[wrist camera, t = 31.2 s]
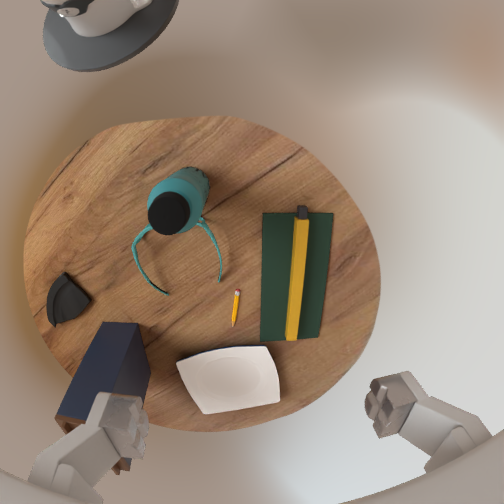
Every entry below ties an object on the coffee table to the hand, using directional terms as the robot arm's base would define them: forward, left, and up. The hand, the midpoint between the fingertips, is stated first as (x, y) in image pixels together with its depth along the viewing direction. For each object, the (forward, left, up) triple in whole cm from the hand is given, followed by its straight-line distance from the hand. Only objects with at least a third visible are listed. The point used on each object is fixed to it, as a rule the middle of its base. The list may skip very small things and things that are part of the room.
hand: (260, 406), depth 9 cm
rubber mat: (+15, +14, -40) cm, 45 cm away
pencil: (+22, +4, -41) cm, 46 cm away
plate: (+40, +6, -40) cm, 57 cm away
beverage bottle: (0, -7, -40) cm, 41 cm away
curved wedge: (+26, -31, -40) cm, 57 cm away
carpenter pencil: (+14, +13, -40) cm, 44 cm away
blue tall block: (+36, -18, -40) cm, 57 cm away
